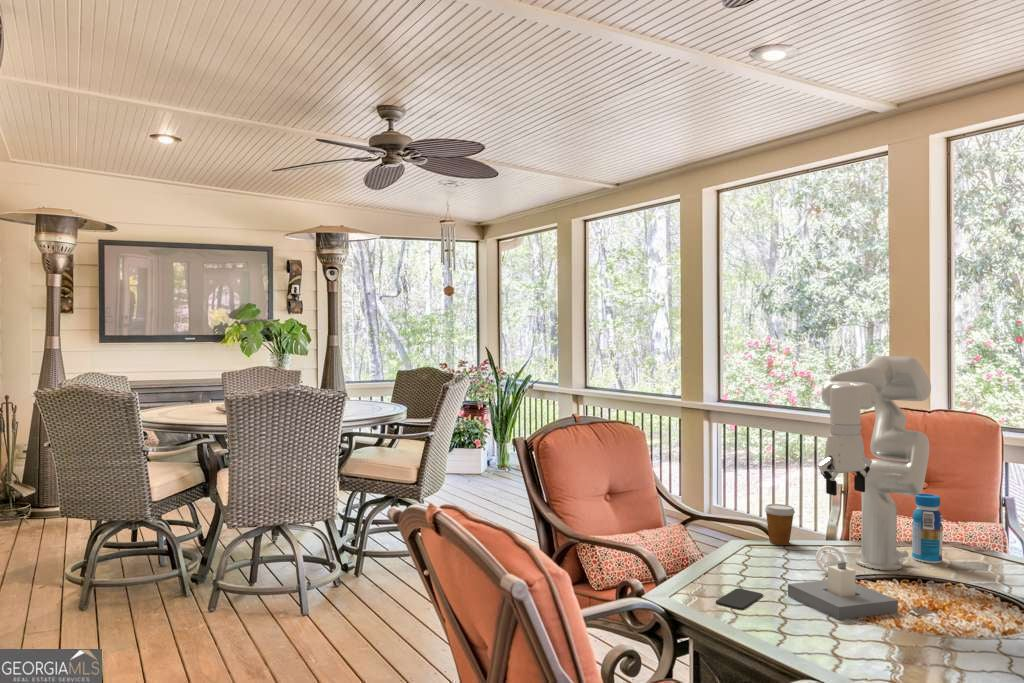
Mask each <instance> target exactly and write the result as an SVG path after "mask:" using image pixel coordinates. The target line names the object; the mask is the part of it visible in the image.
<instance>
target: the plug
mask: <svg viewBox="0 0 1024 683" xmlns="http://www.w3.org/2000/svg"><path fill="white" fill-rule="evenodd" d="M827 569H828V573H827V580H828V592H830V593H832V594H834V595H837V596H839V597H846V596H855V583H856V569H854V568H852V567H848V566H847V562H846V561H845V562H843V561H841V560H838V562H837V566H828V567H827Z"/></svg>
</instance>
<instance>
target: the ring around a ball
mask: <svg viewBox="0 0 1024 683" xmlns="http://www.w3.org/2000/svg"><path fill="white" fill-rule="evenodd" d="M826 550H828V551H829V552H828V551H827V552H824V551H826ZM831 551H833V552H831ZM823 552H824V553H823ZM834 552H835V553H836V554H835V553H834ZM822 553H823V555H822V557H821V554H822ZM837 555H838V556H837ZM820 557H821V560H820ZM839 558H840V561H843V562H846V560H845V557H844V554H843V553H842V551H841V550H839V549H838V548H836V547H835V546H831V545H824V546H821V547H819V548H818V549H817V551H816V553H815V561H816V565H817V567H818V568H819V569H820V570H821V571H822V572H824V573H826V574H828V566H837V562H838V561H839ZM821 561H822V562H821ZM825 567H826V568H825Z"/></svg>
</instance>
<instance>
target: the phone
mask: <svg viewBox="0 0 1024 683" xmlns="http://www.w3.org/2000/svg"><path fill="white" fill-rule="evenodd" d="M763 597H764V594H763V593H761V592H757V591H753V590H749V589H744V588H735V589H733V590H731V591H729V592H728V593H726V594H725V595H723V596H721V597H719V598H718V599H716V600H715V604H716V605H718V606H723V607H727V608H731V609H733V610H734V609H735V610H739V611H743V610H746V609H747V608H748V607H750V606H751V605H753V604H754V603H755V602H757V601H758V600H760V599H761V598H763Z"/></svg>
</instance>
